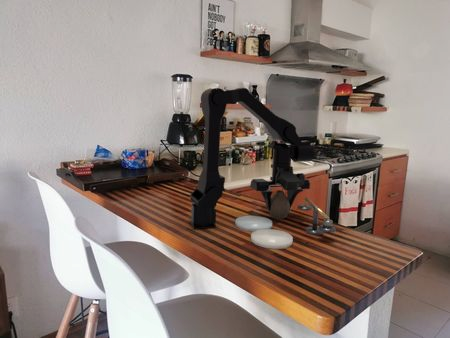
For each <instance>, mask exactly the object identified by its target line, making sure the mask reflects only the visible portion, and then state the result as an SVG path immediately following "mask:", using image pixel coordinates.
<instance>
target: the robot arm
mask: <svg viewBox="0 0 450 338" xmlns="http://www.w3.org/2000/svg"><path fill="white" fill-rule="evenodd" d="M235 103H238V104H240V106H241V107H243V108H244V109H245V110H246V111H248V112H249V113H250V114H251V115H252V116H254V117H255V118H256V119H257V120H258V121H259V122H261V123H262V124H263V125H264V127H265V129H266V130H267V132H268V134H269V135H270V136H271V137H272V138H273V139H274V140H272V141H271V142H270V143H269V144H268V145H267V146H266V147H267V148H268V149H273V153H272V163H270V168H271V172H272V173H271V176H270V177H269V180H266V179H264V178H253V179H251V181H250V188H251V189H252V190H255V191H256V192H260V193H261V195H262V197H263V199H264V203H265V206H266V208H267V211H268V212H269V211H270V208H271V198H272V194H273V191H272V190H271V188H282V189H283V191H286V192H287V193H286V197H287V198H288V200H289V203H290V209H292V206H293V203H294V201H295V200H296V198H297V196H298V195H299V194H300V193H301V192H304V190H310V189H311V181H310V180H309V179H307V178H306V175H305V174H304V173H303V172H302V173H294V166H292V162H293V163H302V162H303V163H304V162H306V163H307V162H308V163H309V162H312V161H313V159H314V157H315V150H314V147H313V146H312V141H311V140H301V138H300V136H299V135H298V133H297V127H296V126H295V125H294V124H293V123H291V122H290V121H289V120H286V119H285V118H282V117H279V116H278V115H276V114H275V113H274V112H273V111H272V110H271V109H269V108H268V107H267V106H266V105H265V104H264V103H262V101H260V100H259V99H258V98H257V97H256V96H255V95H253V94H252V93H251V92H250V90H249V89H248V88H247V87H237V88H234V89H228V90H224V89H222V88H219V87H215V88H207V89H206V90H204V91H203V92H202V93H201V96H200V105H201V111H202V114H203V118H204V136H203V137H204V139H203V141H204V142H203V159H202V162H203V163H202V170H201V173H200V175H199V177H198V182H197V187H196V188H195V189H194V190H193V191H192V192H191V193H190V194H189V198H190V201H191V202H192V203H191V211H190V213H191V214H190V215H191V217H190V220H189V223H190V225H191V227H193V229H195V230H197V229H208V228H209V229H210V228H216V222H217V210H216V207H217V204H218V201H219V200H220V199H221V198H222V197H223V192H225V191H226V190H225V183H226V177H225V176H223V175H221V174H220V171H219V169H220V167H219V166H220V165H219V164H220V163H219V162H220V146H221V127H222V125H221V123H222V120H223V117H224V115H225V112H226V109H227V105H230V104H235ZM278 141H281V142H278Z"/></svg>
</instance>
